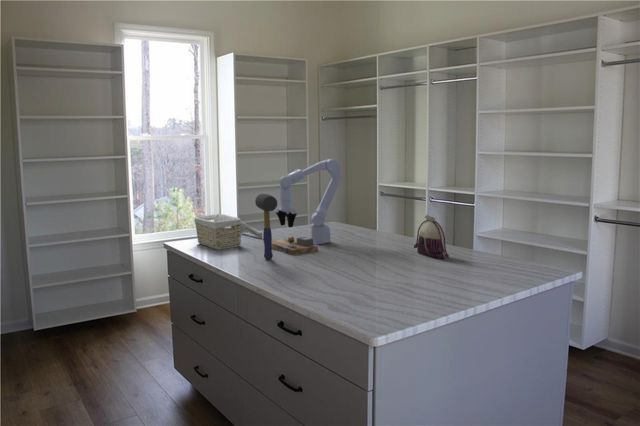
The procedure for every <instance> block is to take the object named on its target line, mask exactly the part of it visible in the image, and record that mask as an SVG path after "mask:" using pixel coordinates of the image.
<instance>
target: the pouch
mask: <svg viewBox="0 0 640 426" xmlns="http://www.w3.org/2000/svg"><path fill="white" fill-rule="evenodd" d="M424 218H425V220H424V221H422V223H420V224H419V227H418V229H417V236H416V243H415V244H414V245H413V249H416V250H417V251H416V252H417V253H418V254H421V255H426V256H431V257H434V258H438V259H442V260H445V259H449V258H450V257H449V256H450V255H449V253H448V252H447V246H446V237H445V233H444V230H443V228H442V226H441V225H440V224H439V222H437V220H436V219H437V217H434V216H430V215H428V214H426V215H425V216H424Z"/></svg>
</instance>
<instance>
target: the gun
mask: <svg viewBox="0 0 640 426" xmlns="http://www.w3.org/2000/svg"><path fill="white" fill-rule="evenodd" d="M235 217H236V218H238V217H237V216H235ZM241 222H242V224H241V235H242V234H243V233H244V232H245V233H249V234H251V235H253V236H255V237H256V238H258V239H259V238H261V239H262V238H263V233H262V232H261V231H259V230H258V229H256V228H254V227H253V226H251V225H249V224H247V222H243V221H241Z"/></svg>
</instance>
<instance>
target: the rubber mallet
mask: <svg viewBox="0 0 640 426" xmlns="http://www.w3.org/2000/svg"><path fill="white" fill-rule="evenodd" d="M254 202H255V205H256V207H257V208H259V209H260V210H263V222H264V224H263V227H264V228H263V233H262V235H263V236H262V238H263V239H262V240H263V244H264V245H263V246H264V247H263V248H264V253H263V257H264V259H265V261H271V260H272V259H273V257H274V255H273V250H272V246H271V243H272V241H273V236H272V229H271V218H270V216H271V215H270V212H273V211H275V210H277V207H278V200H277V199H276V197H274V196H273V195H271V194H269V193H268V194H267V193H261V194H258V195H257V196H256V198H255V200H254Z"/></svg>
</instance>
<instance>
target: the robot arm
mask: <svg viewBox="0 0 640 426" xmlns="http://www.w3.org/2000/svg"><path fill="white" fill-rule="evenodd" d="M326 170H327V172H328V173H329V176H330V179H331V180H330V181H329V183H328V185H327V187H326V190H325V192H324V194H323V195H322V198H321V201H320V202H319V204H318V206H317V207H316V210H315V211H314V212H312V214H311V216H310V219H311V222H312V223H311V224H310V230H311V231H310V232H311V233H310V234H311V235H310V236H311V237H310V238H311V239H313V245H316V246H318V245H322V244H328V243H332V241H331V229H330V226H329V225H328V224H325V223H326V221H325V220H326V215H327V212H328V209H329V208H330V205H331V203H332V201H333V199H334V197H335V194H336V192H337V190H338V189H339V186H340V184H341V182H342V171H341V166H340V163H339V161H338V160H336V159H334V158H327V159H325V160H322V161H319V162H317V163H315V164H312V165H311V166H308V167H307V168H304V169H301V168H300V169H297V168H296V169H294V171H293V172H291V173H286V174H285V175H284V176H281V177H280V179H279V182H278V183H279V186H280V187H279V189H280V190H279V204H280V206H277V207H276V212H275V214H276V215H277V218H278V220H279V223H280V226H281V227H282V226H285V225H286V219H287V226H288V228H293V227H294V222H295V219H296V217H297V214H298V213H296V209H294V208H293V207H292V206H293V205H292V204H293V203H292V190H291V186H292V185H295V184H298V183H299V182H301V181H304V180H305V178H306V176H307V177H308V176H310V175H311V174H314V173H316V172H318V171H326Z"/></svg>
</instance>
